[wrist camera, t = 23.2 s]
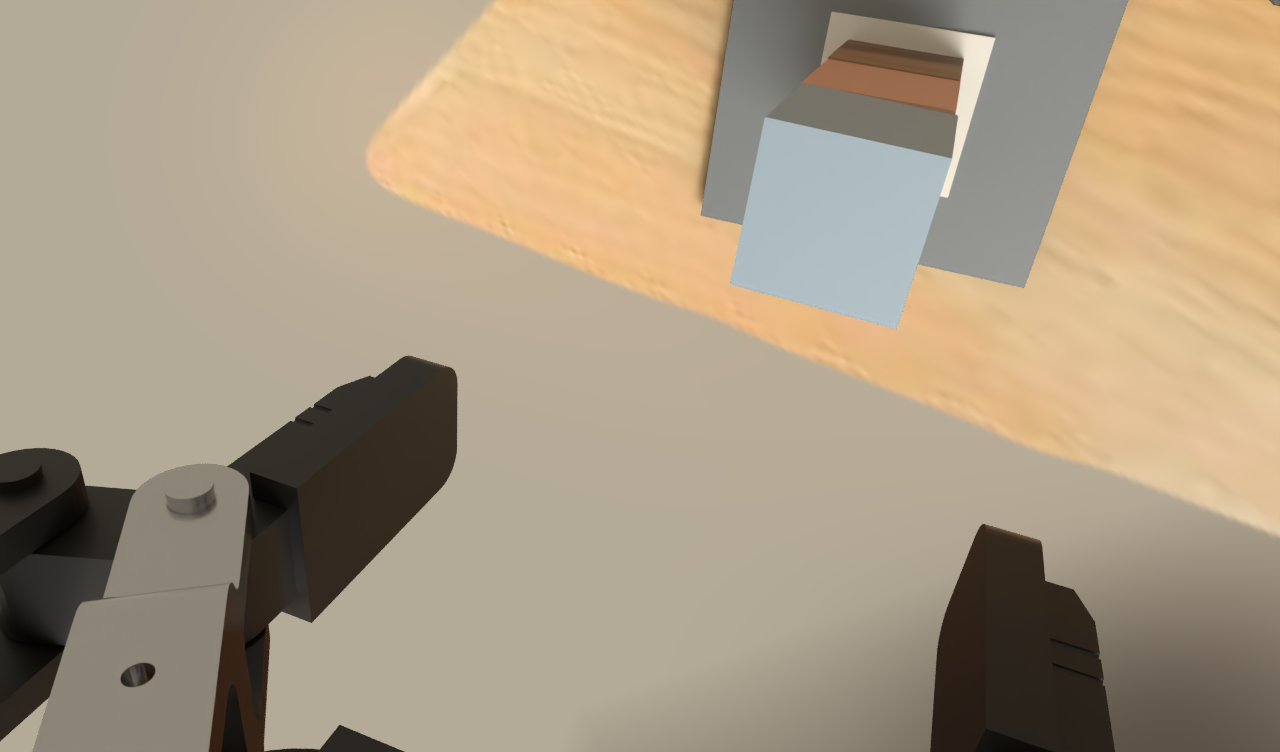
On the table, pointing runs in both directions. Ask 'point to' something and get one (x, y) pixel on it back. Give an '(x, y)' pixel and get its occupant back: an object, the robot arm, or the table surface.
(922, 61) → the walnut block
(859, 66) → the terracotta block
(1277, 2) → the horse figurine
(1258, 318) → the table surface
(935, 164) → the slate blue block
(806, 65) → the building board
